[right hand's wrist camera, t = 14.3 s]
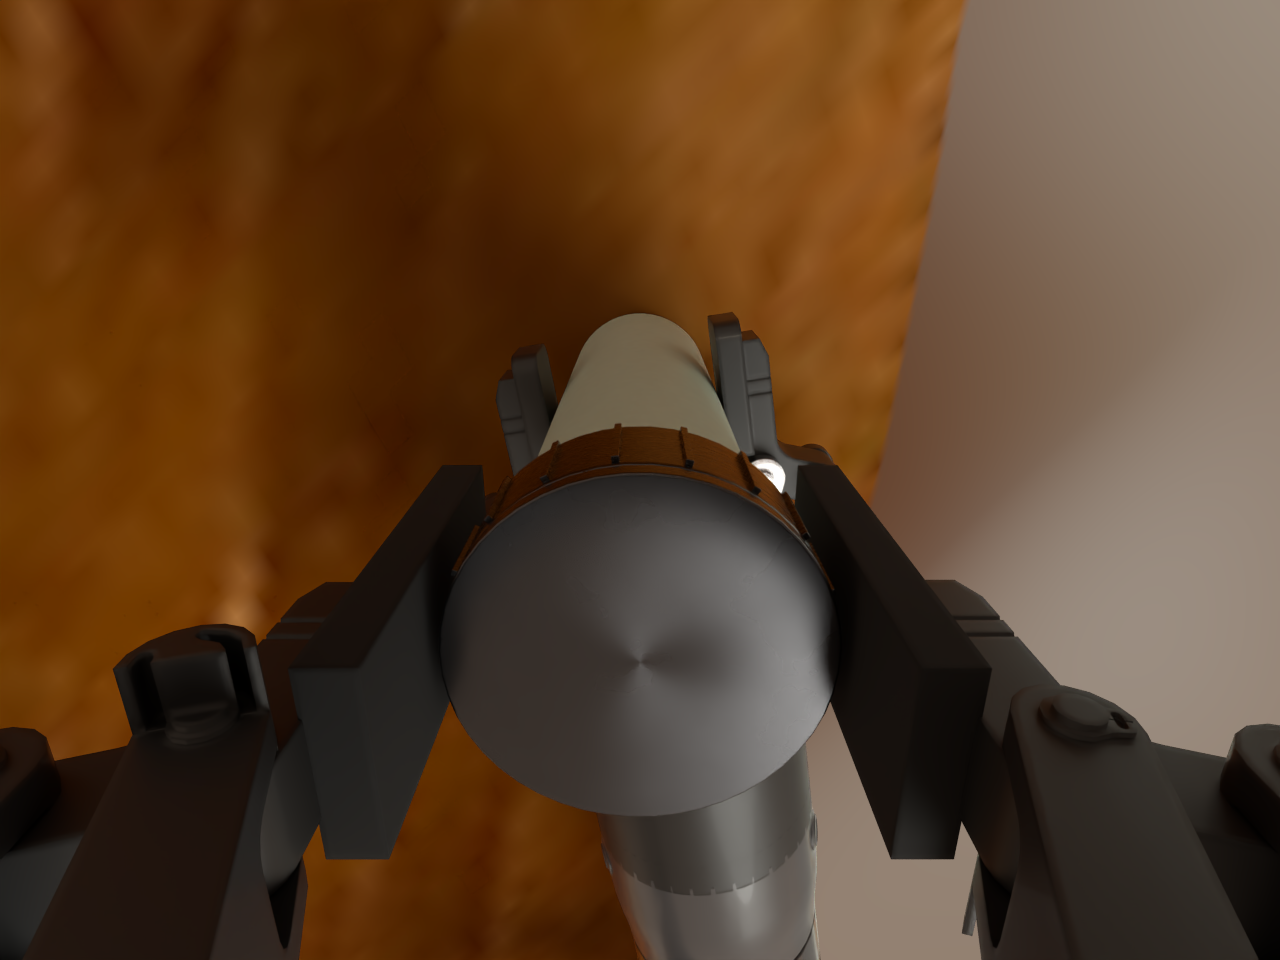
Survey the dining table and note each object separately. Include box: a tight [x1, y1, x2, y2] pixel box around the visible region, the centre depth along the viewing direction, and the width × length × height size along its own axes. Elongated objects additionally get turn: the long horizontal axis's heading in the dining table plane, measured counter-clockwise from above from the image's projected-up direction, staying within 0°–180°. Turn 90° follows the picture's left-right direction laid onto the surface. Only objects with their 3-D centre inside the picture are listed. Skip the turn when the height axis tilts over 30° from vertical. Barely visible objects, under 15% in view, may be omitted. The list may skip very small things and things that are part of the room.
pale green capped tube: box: [538, 313, 740, 456], centre depth 19 cm, size 5×5×17 cm
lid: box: [439, 423, 842, 817], centre depth 11 cm, size 6×6×2 cm
